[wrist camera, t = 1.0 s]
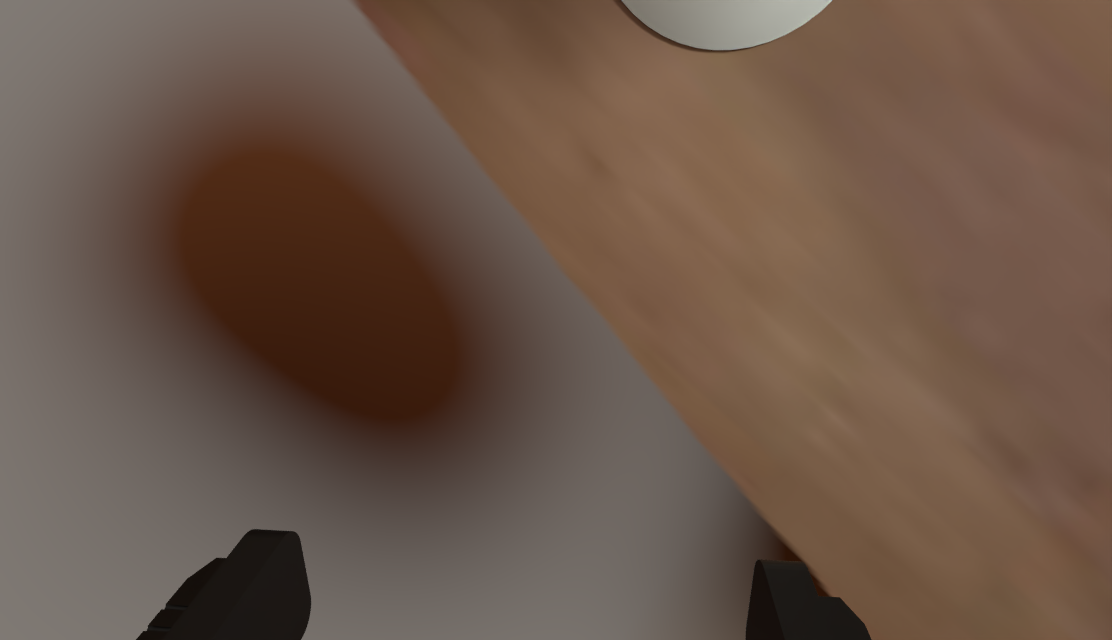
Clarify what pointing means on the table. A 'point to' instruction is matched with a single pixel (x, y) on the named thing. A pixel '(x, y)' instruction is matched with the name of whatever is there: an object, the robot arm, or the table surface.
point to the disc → (724, 20)
